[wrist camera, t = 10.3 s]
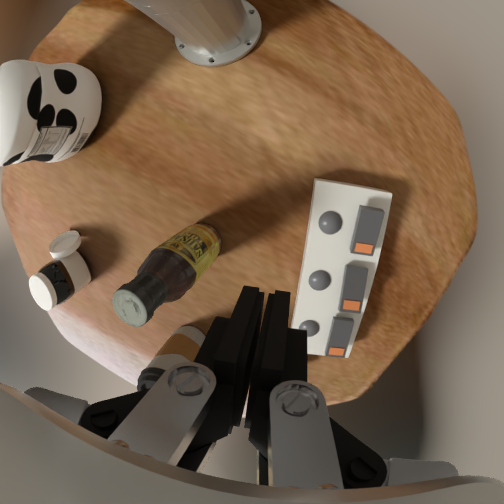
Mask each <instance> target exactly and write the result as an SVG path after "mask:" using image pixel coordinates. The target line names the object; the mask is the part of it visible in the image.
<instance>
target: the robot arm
mask: <svg viewBox="0 0 504 504" xmlns="http://www.w3.org/2000/svg"><path fill="white" fill-rule="evenodd" d="M125 1H127V2H128V3H130V4H131V5H133V6H134V7H136V8H137V9H139V10H140V11H142V12H143V13H144V14H146V15H147V16H149V17H150V18H151V19H153V20H154V21H156V22H157V23H158V24H160V25H161V26H162V27H164V28H165V29H166V30H168V31H169V32H170V33H171V34H173V35H174V36H175V44H176V47H177V49H178V51H179V52H180V54H181V55H182V56H183V57H184V58H186V59H187V60H189V61H190V62H192V63H194V64H197V65H199V66H205V67H217V66H224V65H227V64H230V63H233V62H235V61H237V60H239V59H241V58H242V57H244V56H245V55H247V54H248V53H249V52H250V51H251V50H252V49H253V48H254V46H255V45H256V44H257V42H258V40H259V38H260V36H261V32H262V22H261V18H260V15H259V13H258V11H257V10H256V9H255V7H254V6H253V5H251V4H250V3H249V2H247V1H245V0H125ZM252 13H253V14H252ZM248 44H250V45H248ZM183 47H184V48H183ZM212 61H214V62H213V63H212ZM263 301H264V292H259V288H258V287H251V286H244V287H243V289H242V291H241V294H240V296H239V299H238V301H237V304H236V306H235V308H234V311H233V313H232V316H231V318H230V319H229V318H223V317H218V316H217V317H215V319H214V321H213V323H212V325H211V327H210V329H209V331H208V333H207V335H206V337H205V339H204V341H203V343H202V345H201V347H200V349H199V351H198V353H197V355H196V357H195V359H194V361H193V362H183V363H178V364H175V365H173V366H171V367H170V368H169V369H167V370H166V371H165V372H164V373H163V375H162V376H161V377H160V378H159V379H158V381H157V382H156V383H155V384H154V385H153V386H152V388H149V389H145V390H142V391H138V392H135V393H131V394H127V395H124V396H120V397H116V398H112V399H108V400H104V401H100V402H97V403H94V404H92V405H90V404H88V402H87V401H86V400H82V399H78V398H74V397H71V396H67V395H63V394H60V393H57V392H54V391H50V390H47V389H44V388H41V387H33V388H30V389H28V390H26V391H25V392H24V393H23V392H21V391H19V390H17V389H16V388H13V387H11V386H9V385H6V384H3V383H0V504H504V483H503V482H501V481H500V480H497V479H494V478H490V477H483V476H470V475H467V476H459V475H458V471H457V469H456V468H455V466H453V465H452V464H451V463H449V462H444V461H421V460H408V459H398V458H391V459H390V460H383V459H382V458H381V457H380V456H379V455H378V454H377V453H376V452H374V451H373V450H372V449H370V448H369V447H368V446H366V445H365V444H363V443H362V442H361V441H360V440H358V439H357V438H356V437H354V436H353V435H352V434H350V433H349V432H348V431H347V430H345V429H344V428H343V427H341V426H340V425H339V424H338V423H337V422H335V421H334V420H333V419H332V418H330V417H329V415H328V411H327V406H326V401H325V398H324V396H323V394H322V392H321V391H320V390H319V389H318V388H317V387H315V386H314V385H312V384H310V383H307V330H302V329H294V328H288V317H289V305H290V292H286V291H278V290H276V291H275V294H271V293H269V296H268V300H267V304H266V309H265V313H264V318H263V322H262V326H261V318H262V309H263ZM260 326H261V331H260ZM259 334H260V335H259ZM249 385H250V387H249ZM248 389H249V395H248V403H247V411H246V419H245V426H244V427H245V428H249V429H250V433H249V441H250V442H251V443H252V444H253V445H254V446H255V447H256V448H257V450H258V451H257V484H251V483H245V482H239V481H233V480H228V479H223V478H219V477H214V476H209V475H205V474H202V473H201V471H202V469H203V467H204V466H205V464H206V462H207V460H208V458H209V456H210V454H211V453H212V451H213V449H214V447H215V445H216V442H217V440H219V439H221V438H223V437H225V436H227V435H228V434H231V432H232V428H233V426H238V427H239V426H240V422H241V418H242V414H243V410H244V406H245V402H246V398H247V394H248Z"/></svg>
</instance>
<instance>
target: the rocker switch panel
mask: <svg viewBox="0 0 504 504" xmlns="http://www.w3.org/2000/svg"><path fill="white" fill-rule="evenodd" d="M391 200H392V193H390V192H388V191H386V190H383V189H378V188H373V187H368V186H362V185H357V184H351V183H345V182H339V181H333V180H326V179H320V178H314V184H313V192H312V200H311V207H310V214H309V221H308V228H307V235H306V242H305V248H304V255H303V261H302V267H301V273H300V279H299V285H298V290H297V296H296V301H295V307H294V312H293V317H292V323H291V328H294V329H302V330H307V354H314V355H324V356H325V348H326V344H327V340H328V336H329V332H330V328H331V324H332V320H333V316H335V317H344V318H353V320H354V326H353V330H352V333H351V337H350V341H349V344H348V348H347V351H346V355H345V357H347V358H348V357H349V354H350V351H351V348H352V346H353V343H354V340H355V337H356V334H357V332H358V329H359V326H360V323H361V320H362V317H363V313H364V310H365V307H366V304H367V301H368V297H369V294H370V290H371V287H372V283H373V280H374V276H375V272H376V269H377V265H378V261H379V257H380V253H381V248H382V244H383V240H384V235H385V231H386V226H387V221H388V216H389V211H390V205H391ZM359 205H364V206H370V207H375V208H381V209H383V210H384V212H385V214H384V218H383V222H382V226H381V230H380V233H379V237H378V240H377V244H376V247H375V251H374V254H373V256H366V255H360V254H353V253H350V249H349V248H350V244H351V240H352V236H353V232H354V227H355V223H356V219H357V214H358V210H359ZM345 265H347V266H355V267H362V268H368V275H367V282H366V288H365V294H364V299H363V305H362V310H361V314H358V313H348V312H339V310H338V305H339V300H340V294H341V288H342V282H343V275H344V269H345Z"/></svg>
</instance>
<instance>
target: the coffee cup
mask: <svg viewBox="0 0 504 504" xmlns="http://www.w3.org/2000/svg"><path fill="white" fill-rule="evenodd" d="M204 339H205V335H204V334H203V333H202V332H201V331H200V330H199V329H197V328H195V327H192V326H183V327H180V328H178V329H177V330H176V331H175V332H174V333H173V335H172V336H171V337H170V338H169V339H168V340H167V342H166V343H165V344H164V345H163V346H162V348H161V349H160V350H159V351H158V353H157V354H156V355H155V357H154V359H153V360H152V361H151V362H150V364H149V365H148V366H147V367H146V368H145V369H144V370H143V371H142V372H141V374H140V376H139V378H138V385H137V390H138V391H142V390H145V389H149V388H152V386H153V385H154V384H155V383H156V382H157V381H158V379H159V378H160V377H161V376H162V375H163V373H164V372H165V371H166V370H167V369H169V368H170V367H171V366H173V365H175V364H178V363H183V362H193V361H194V359H195V357H196V355H197V353H198V351H199V349H200V347H201V345H202V343H203V341H204Z"/></svg>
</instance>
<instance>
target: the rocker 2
mask: <svg viewBox="0 0 504 504" xmlns="http://www.w3.org/2000/svg"><path fill="white" fill-rule="evenodd" d="M384 214H385V212H384V210H383V209H381V208H375V207H370V206H364V205H359V210H358V214H357V219H356V223H355V227H354V232H353V236H352V240H351V244H350V248H349V249H350V253H353V254H360V255H366V256H373V254H374V251H375V247H376V244H377V240H378V237H379V233H380V230H381V226H382V222H383V218H384Z"/></svg>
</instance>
